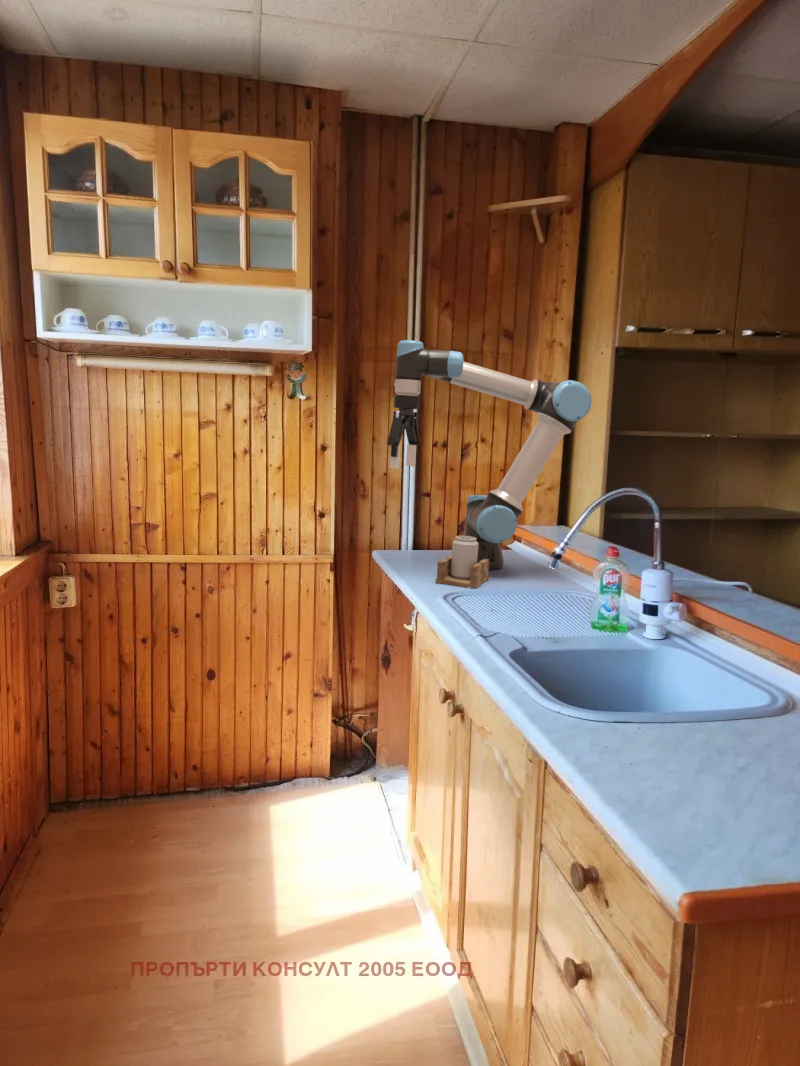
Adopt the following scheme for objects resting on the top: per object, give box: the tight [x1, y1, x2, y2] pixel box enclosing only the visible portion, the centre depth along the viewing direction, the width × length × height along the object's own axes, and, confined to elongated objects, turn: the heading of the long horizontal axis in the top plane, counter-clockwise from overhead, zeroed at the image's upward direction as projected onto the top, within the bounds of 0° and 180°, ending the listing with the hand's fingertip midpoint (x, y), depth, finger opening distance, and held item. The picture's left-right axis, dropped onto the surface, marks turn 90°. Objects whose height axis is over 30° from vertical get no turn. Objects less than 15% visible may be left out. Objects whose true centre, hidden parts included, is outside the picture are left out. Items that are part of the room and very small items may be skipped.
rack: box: [435, 554, 490, 589], centre depth 212 cm, size 14×12×6 cm
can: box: [451, 535, 478, 579], centre depth 211 cm, size 8×8×12 cm
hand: (402, 467), depth 216 cm, fingers open, 13 cm apart
